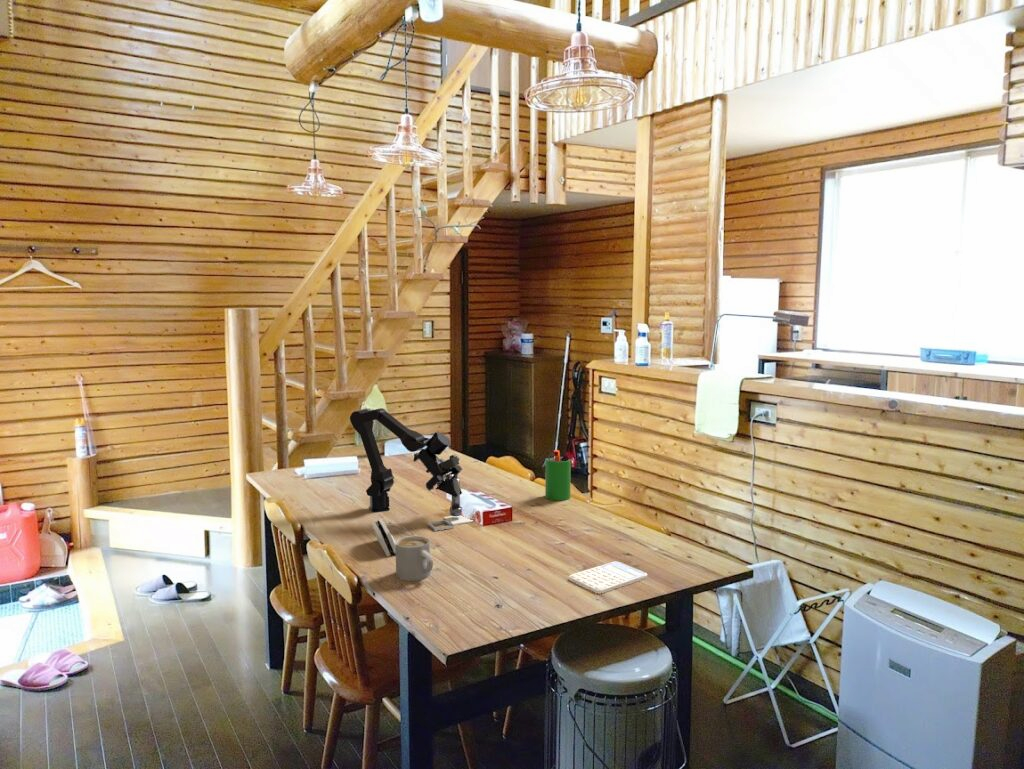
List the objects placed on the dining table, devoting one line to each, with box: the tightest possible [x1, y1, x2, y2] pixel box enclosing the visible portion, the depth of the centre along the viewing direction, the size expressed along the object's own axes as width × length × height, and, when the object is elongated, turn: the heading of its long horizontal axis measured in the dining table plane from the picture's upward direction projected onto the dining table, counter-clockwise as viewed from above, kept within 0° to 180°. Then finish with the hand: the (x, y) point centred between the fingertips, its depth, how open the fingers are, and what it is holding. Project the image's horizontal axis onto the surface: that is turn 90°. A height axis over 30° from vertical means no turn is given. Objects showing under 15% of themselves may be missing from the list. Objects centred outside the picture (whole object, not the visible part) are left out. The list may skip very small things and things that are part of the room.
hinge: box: [371, 518, 397, 557], centre depth 230 cm, size 17×5×10 cm, turn 21°
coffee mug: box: [395, 535, 434, 582], centre depth 206 cm, size 13×10×10 cm
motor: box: [544, 449, 572, 501], centre depth 285 cm, size 10×9×20 cm
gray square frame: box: [427, 519, 455, 532], centre depth 250 cm, size 7×7×1 cm
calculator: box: [568, 561, 648, 595], centre depth 204 cm, size 13×20×2 cm, turn 127°
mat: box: [443, 515, 473, 526], centre depth 258 cm, size 9×9×1 cm
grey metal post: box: [449, 476, 463, 516], centre depth 257 cm, size 4×4×14 cm
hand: (458, 495), depth 257 cm, fingers closed on grey metal post, 3 cm apart
